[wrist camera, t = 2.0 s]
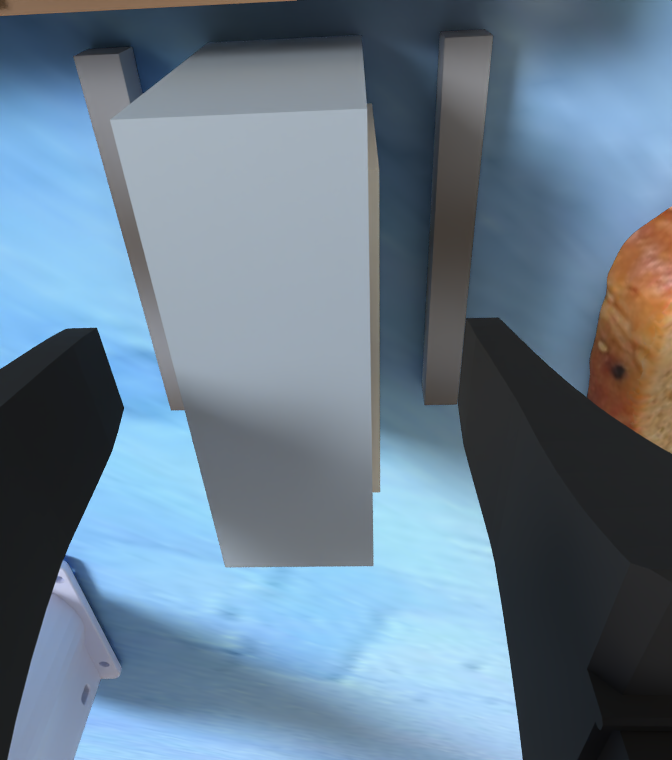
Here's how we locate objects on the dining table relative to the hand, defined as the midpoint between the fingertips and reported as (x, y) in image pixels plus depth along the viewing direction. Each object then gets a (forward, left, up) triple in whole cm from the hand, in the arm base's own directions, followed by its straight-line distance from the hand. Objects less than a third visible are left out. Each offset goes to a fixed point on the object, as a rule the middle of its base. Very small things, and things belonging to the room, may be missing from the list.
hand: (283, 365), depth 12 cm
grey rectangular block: (0, 0, -6) cm, 6 cm away
